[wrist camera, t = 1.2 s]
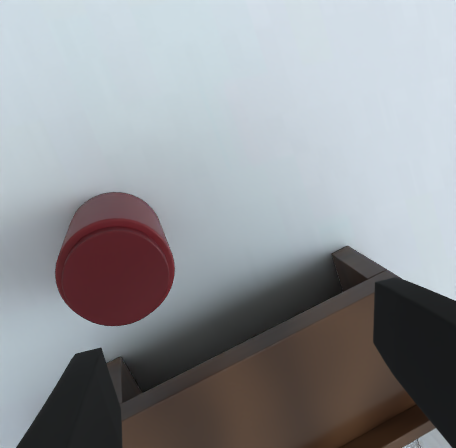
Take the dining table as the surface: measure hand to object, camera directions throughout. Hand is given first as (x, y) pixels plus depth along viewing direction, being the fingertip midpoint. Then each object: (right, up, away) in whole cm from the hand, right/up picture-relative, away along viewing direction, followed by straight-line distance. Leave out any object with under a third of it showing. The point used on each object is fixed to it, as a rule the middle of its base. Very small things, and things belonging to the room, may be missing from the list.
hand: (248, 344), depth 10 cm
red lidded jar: (-6, +2, +10) cm, 12 cm away
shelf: (+1, -5, +15) cm, 16 cm away
